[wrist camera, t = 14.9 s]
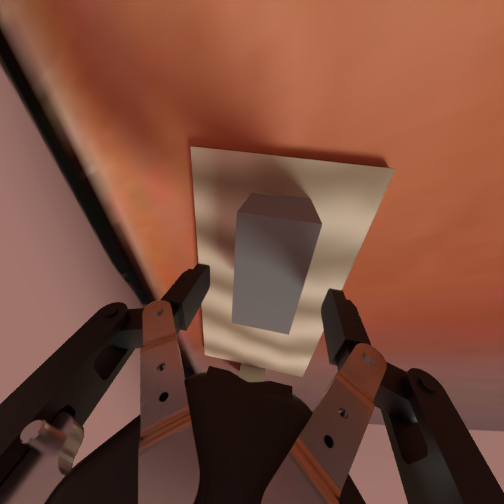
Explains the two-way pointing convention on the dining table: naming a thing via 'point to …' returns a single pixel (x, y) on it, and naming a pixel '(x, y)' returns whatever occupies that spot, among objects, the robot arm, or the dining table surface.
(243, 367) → the wood offcut
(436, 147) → the dining table surface
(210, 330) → the plywood board
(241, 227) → the block
